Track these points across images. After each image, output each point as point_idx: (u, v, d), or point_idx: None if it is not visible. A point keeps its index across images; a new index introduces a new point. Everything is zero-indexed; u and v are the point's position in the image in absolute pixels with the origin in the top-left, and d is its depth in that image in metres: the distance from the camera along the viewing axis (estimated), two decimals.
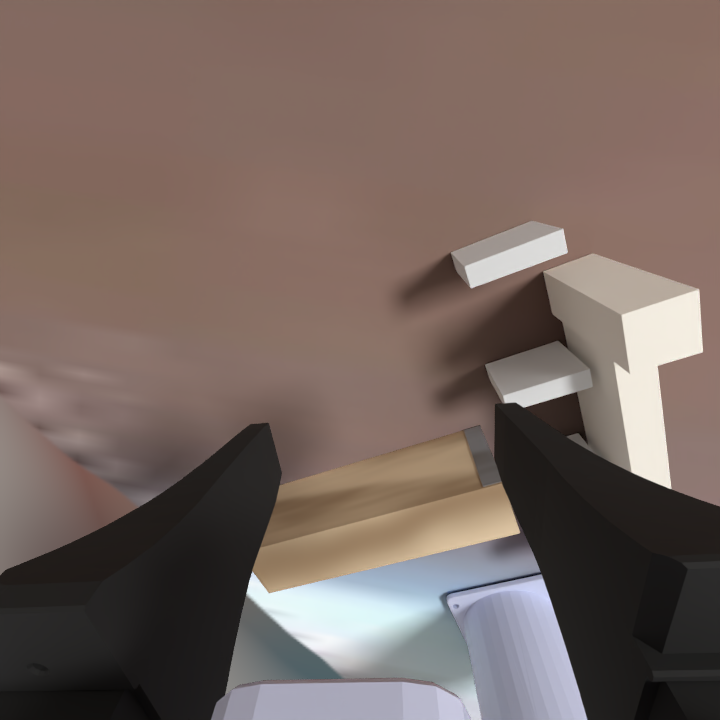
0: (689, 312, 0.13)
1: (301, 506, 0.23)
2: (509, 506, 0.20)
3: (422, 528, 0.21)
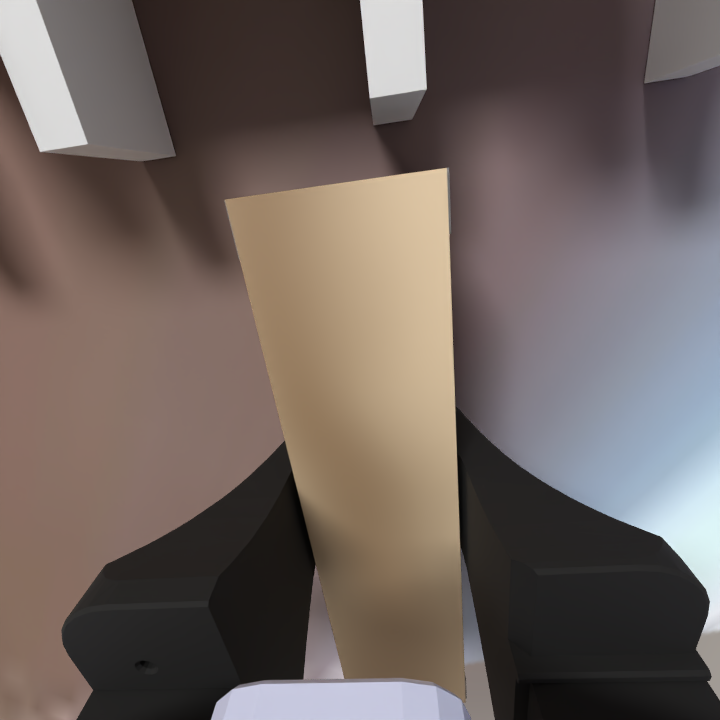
0: None
1: None
2: (320, 192, 0.06)
3: (358, 431, 0.08)
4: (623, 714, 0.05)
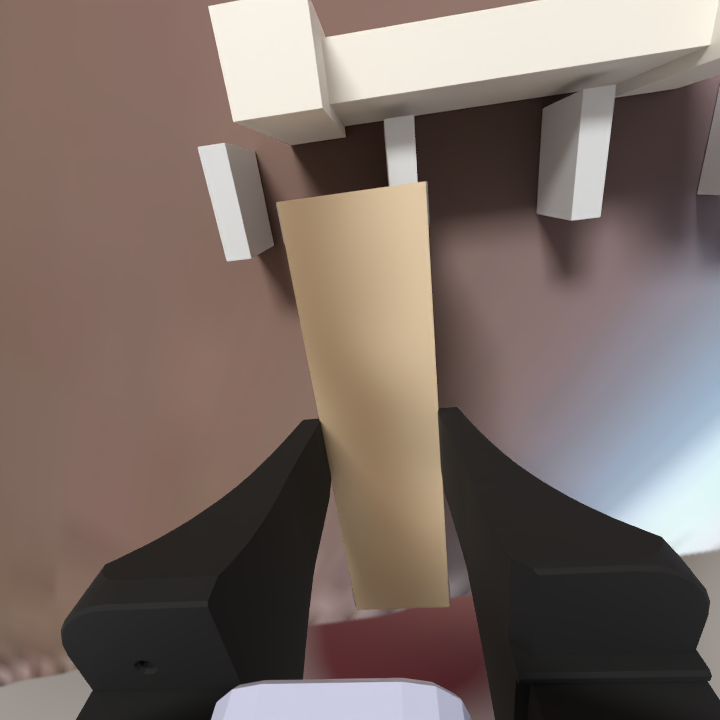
0: (240, 18, 0.09)
1: None
2: (341, 197, 0.09)
3: (365, 370, 0.11)
4: (623, 714, 0.05)
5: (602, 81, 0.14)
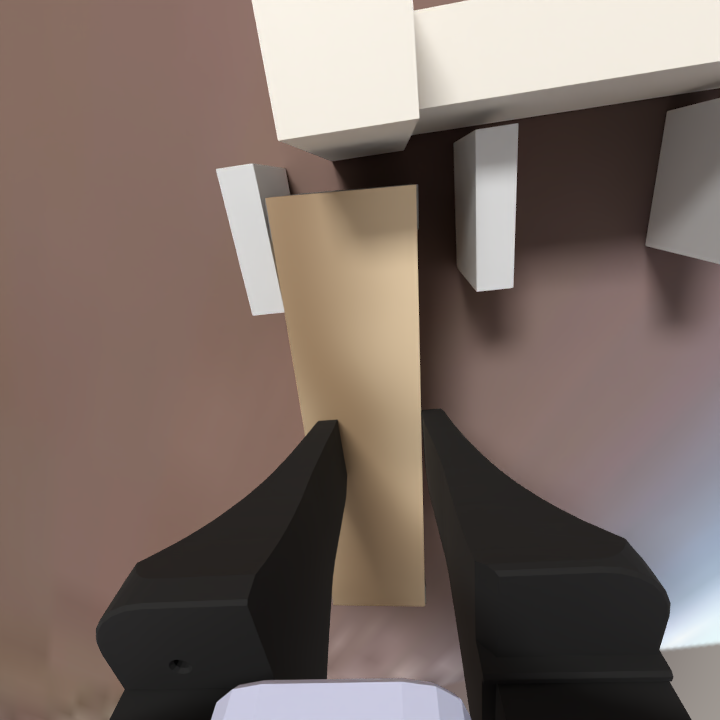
0: None
1: None
2: (330, 196, 0.09)
3: (349, 371, 0.11)
4: (585, 714, 0.05)
5: None
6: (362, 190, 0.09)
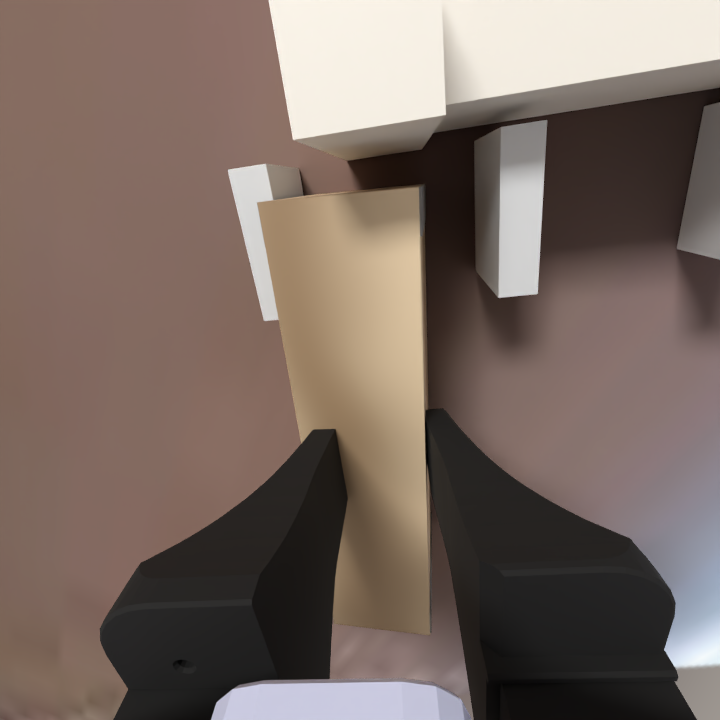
0: None
1: None
2: (325, 200, 0.09)
3: (347, 387, 0.10)
4: (590, 715, 0.05)
5: None
6: (359, 193, 0.08)
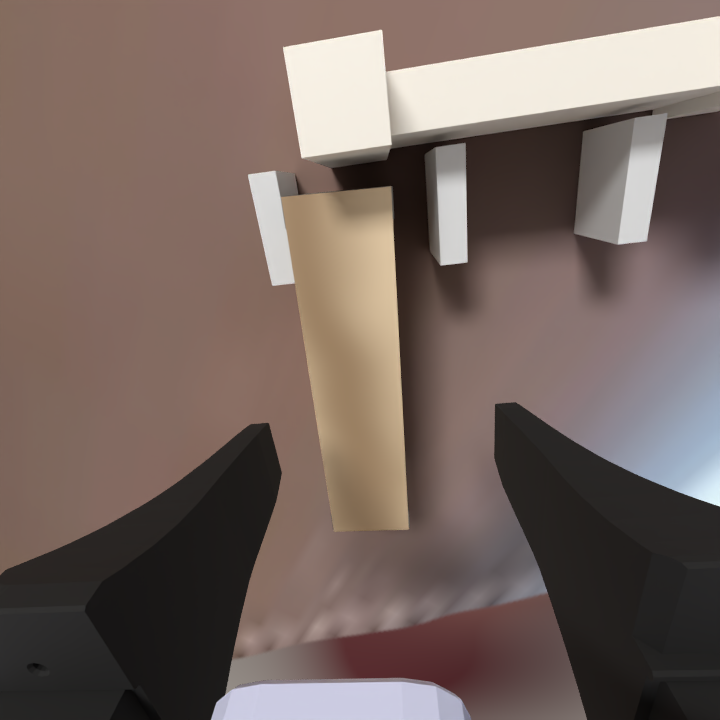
0: (314, 59, 0.09)
1: None
2: (329, 195, 0.13)
3: (344, 329, 0.15)
4: None
5: (647, 107, 0.14)
6: (352, 191, 0.13)
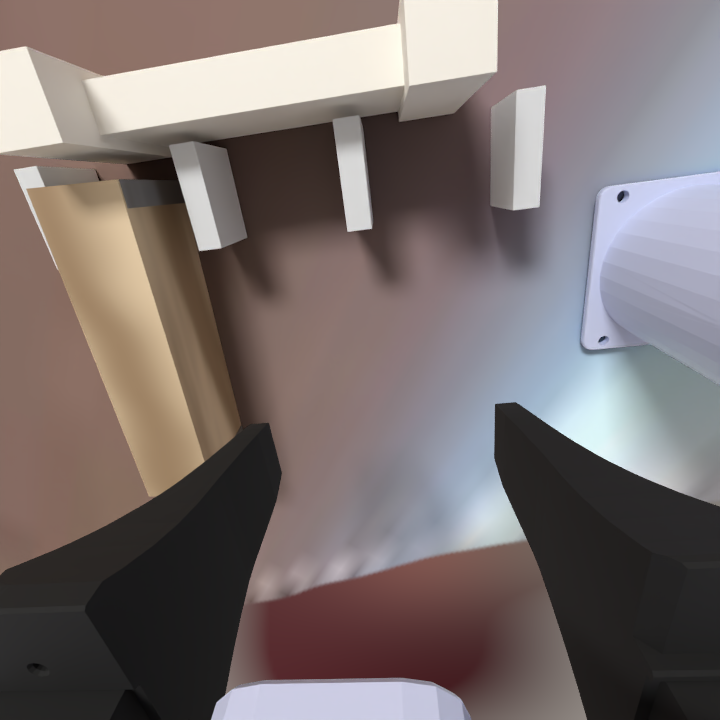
0: None
1: None
2: (66, 187, 0.14)
3: (110, 307, 0.16)
4: None
5: (371, 109, 0.16)
6: (85, 183, 0.14)
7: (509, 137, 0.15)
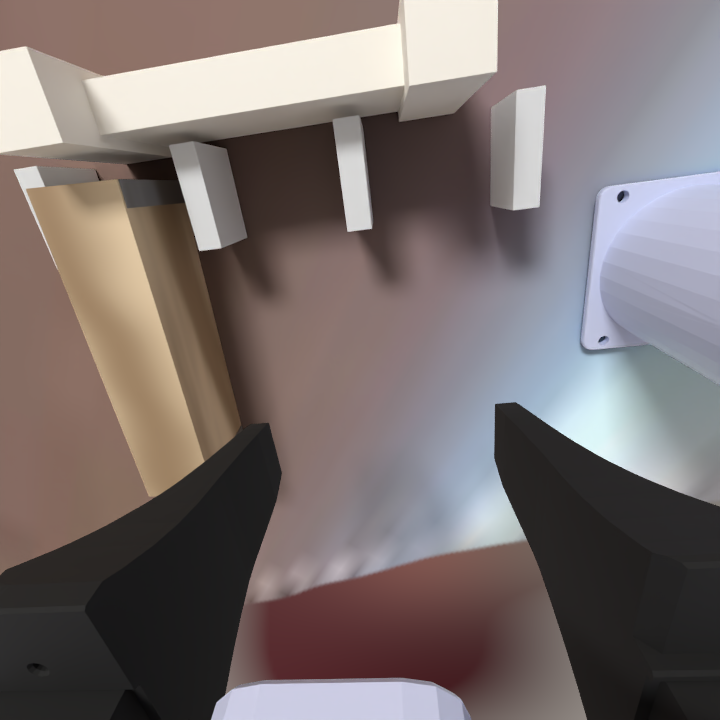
0: None
1: None
2: (66, 187, 0.14)
3: (109, 307, 0.16)
4: None
5: (371, 109, 0.16)
6: (85, 183, 0.14)
7: (509, 137, 0.15)
